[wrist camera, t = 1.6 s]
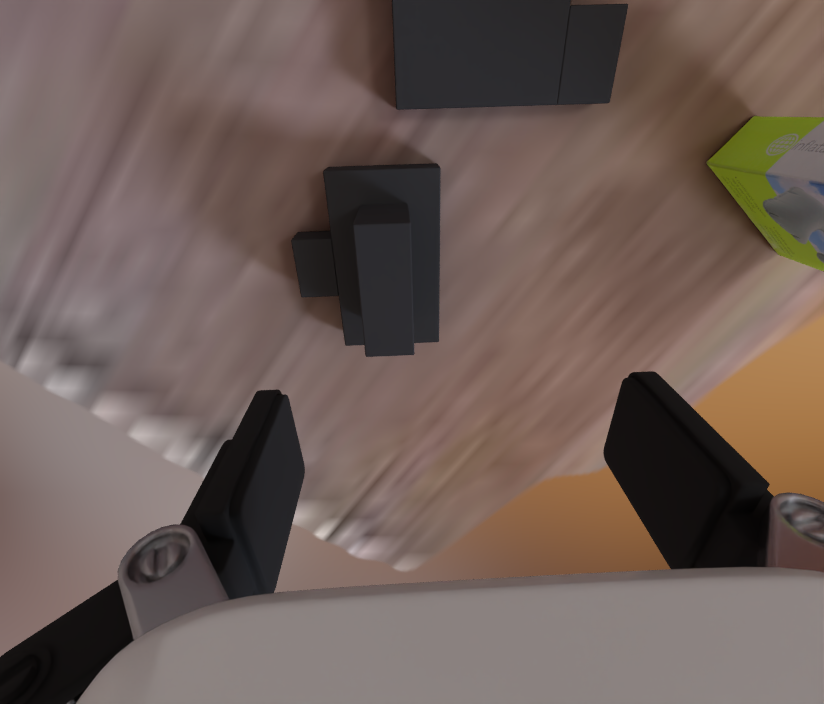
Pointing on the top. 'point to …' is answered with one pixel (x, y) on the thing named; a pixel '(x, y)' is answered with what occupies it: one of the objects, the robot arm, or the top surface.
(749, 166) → the box
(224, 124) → the top surface
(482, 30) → the base pad
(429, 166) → the pad
